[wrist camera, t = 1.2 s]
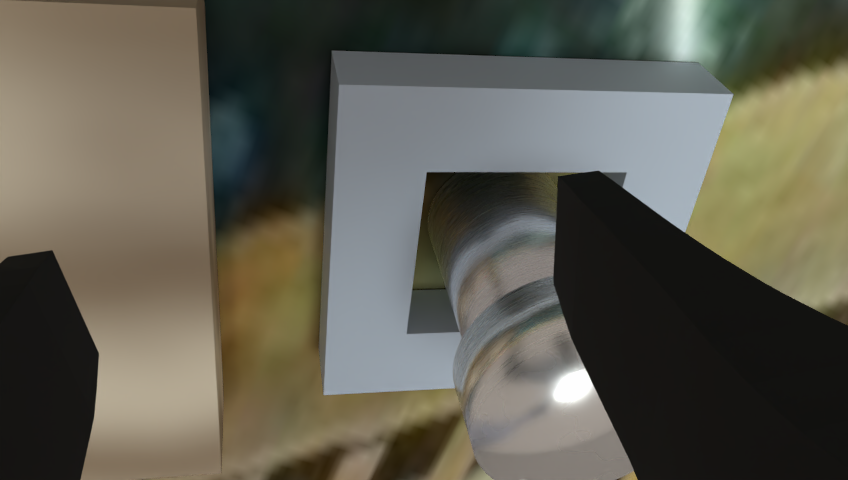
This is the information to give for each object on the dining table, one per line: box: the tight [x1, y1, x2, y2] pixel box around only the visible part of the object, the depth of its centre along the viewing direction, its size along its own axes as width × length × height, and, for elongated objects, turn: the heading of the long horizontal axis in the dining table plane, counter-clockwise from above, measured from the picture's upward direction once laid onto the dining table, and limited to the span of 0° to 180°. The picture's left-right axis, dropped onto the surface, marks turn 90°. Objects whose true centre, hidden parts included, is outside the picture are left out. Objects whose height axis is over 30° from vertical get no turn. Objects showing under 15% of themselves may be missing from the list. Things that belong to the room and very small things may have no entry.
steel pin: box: [427, 172, 634, 480], centre depth 21 cm, size 5×5×8 cm
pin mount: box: [319, 51, 733, 395], centre depth 23 cm, size 10×10×2 cm
